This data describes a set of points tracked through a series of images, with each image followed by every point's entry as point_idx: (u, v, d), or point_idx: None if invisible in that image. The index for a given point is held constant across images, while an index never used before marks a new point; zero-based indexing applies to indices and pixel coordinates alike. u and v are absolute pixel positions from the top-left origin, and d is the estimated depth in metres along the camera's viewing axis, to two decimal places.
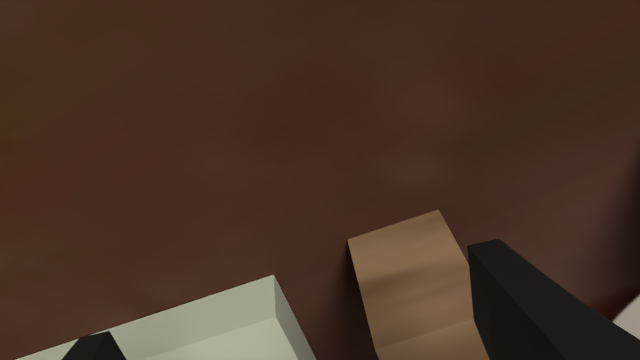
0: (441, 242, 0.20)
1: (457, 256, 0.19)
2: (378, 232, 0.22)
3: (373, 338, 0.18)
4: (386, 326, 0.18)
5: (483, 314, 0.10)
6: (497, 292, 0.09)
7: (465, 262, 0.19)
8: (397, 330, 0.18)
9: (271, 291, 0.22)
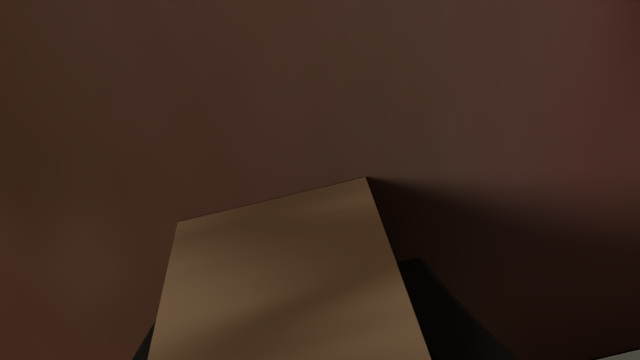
0: None
1: None
2: None
3: None
4: None
5: None
6: None
7: (150, 355, 0.08)
8: None
9: None
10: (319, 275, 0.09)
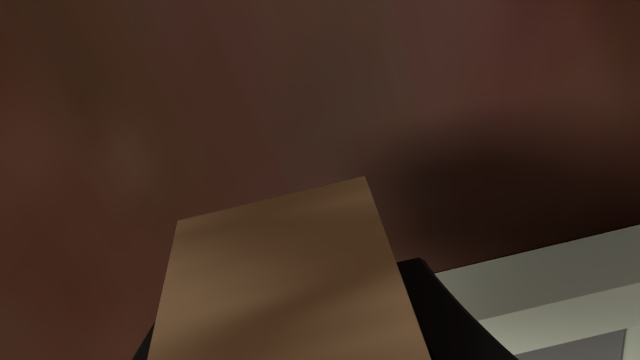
0: None
1: None
2: None
3: None
4: None
5: None
6: None
7: (150, 352, 0.08)
8: None
9: None
10: (319, 273, 0.09)
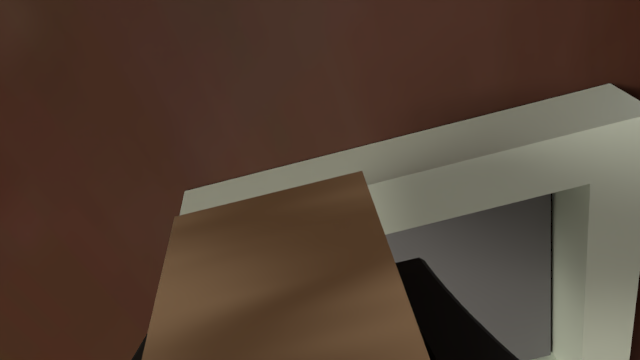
0: None
1: None
2: None
3: None
4: None
5: None
6: None
7: (146, 347, 0.08)
8: None
9: None
10: (315, 267, 0.09)
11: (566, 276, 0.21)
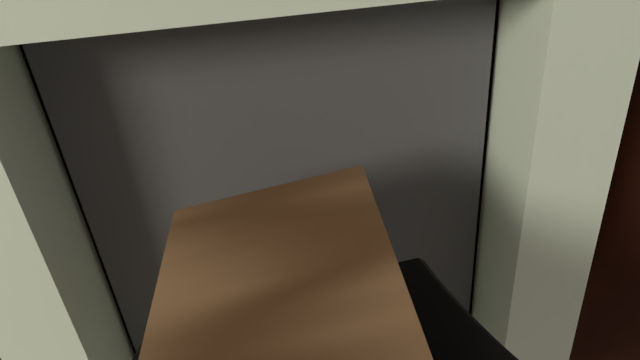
0: None
1: None
2: None
3: None
4: None
5: None
6: None
7: (145, 339, 0.08)
8: None
9: None
10: (315, 259, 0.09)
11: (501, 188, 0.14)
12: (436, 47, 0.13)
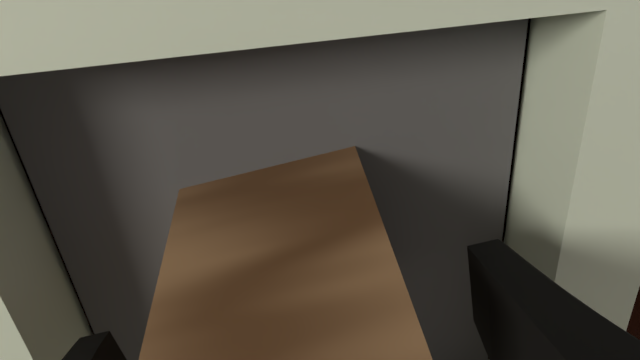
0: None
1: None
2: None
3: None
4: None
5: (483, 314, 0.10)
6: (496, 292, 0.09)
7: (154, 299, 0.09)
8: None
9: None
10: (310, 229, 0.09)
11: (529, 228, 0.12)
12: (459, 72, 0.11)
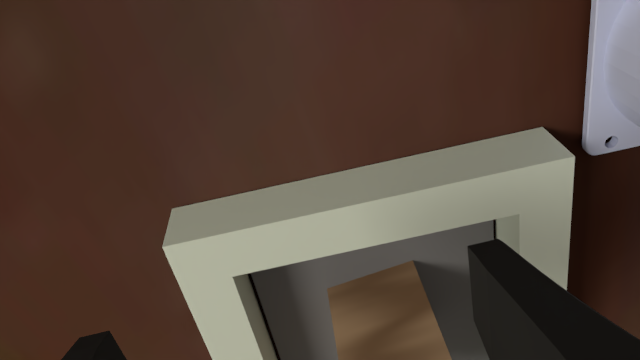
0: None
1: None
2: None
3: None
4: None
5: (483, 314, 0.10)
6: (497, 292, 0.09)
7: (337, 350, 0.21)
8: None
9: None
10: (399, 312, 0.21)
11: None
12: None
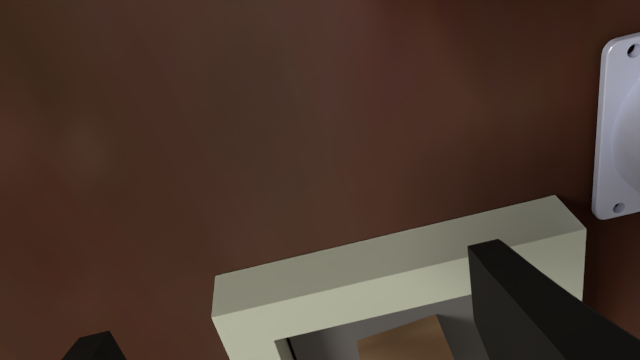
0: None
1: None
2: None
3: None
4: None
5: (483, 314, 0.10)
6: (497, 292, 0.09)
7: None
8: None
9: None
10: None
11: None
12: None
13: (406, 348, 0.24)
